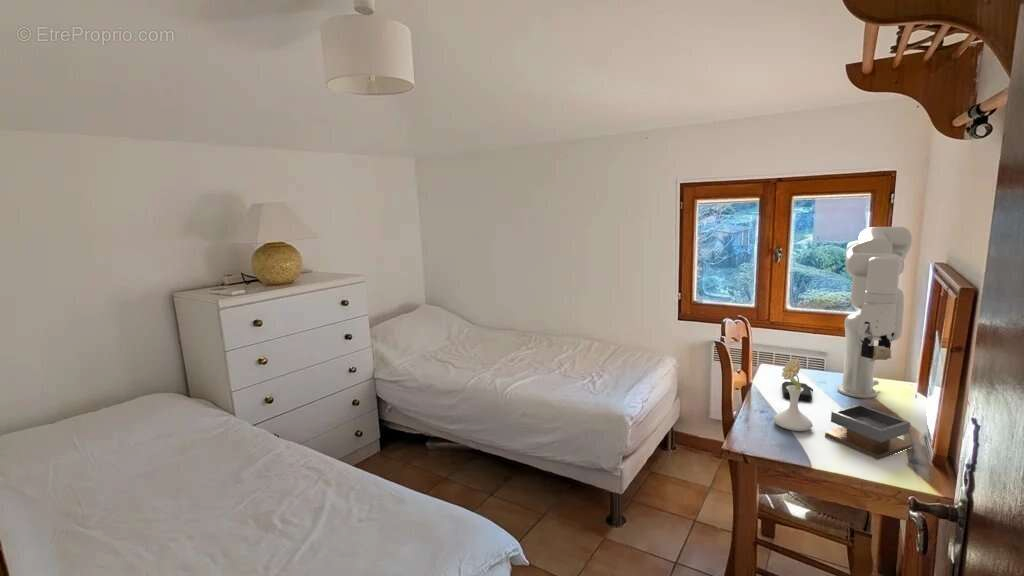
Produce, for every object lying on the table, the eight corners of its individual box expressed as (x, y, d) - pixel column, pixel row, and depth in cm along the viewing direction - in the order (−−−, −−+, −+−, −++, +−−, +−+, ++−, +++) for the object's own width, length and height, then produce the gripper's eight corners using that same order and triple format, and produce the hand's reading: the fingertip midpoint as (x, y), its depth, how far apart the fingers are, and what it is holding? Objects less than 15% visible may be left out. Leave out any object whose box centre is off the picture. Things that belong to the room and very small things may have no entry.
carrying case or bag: (815, 404, 179) (811, 390, 192) (816, 396, 178) (812, 382, 191) (783, 399, 184) (781, 386, 196) (783, 392, 183) (781, 379, 196)
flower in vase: (773, 417, 169) (777, 349, 165) (811, 422, 164) (815, 353, 159) (773, 432, 158) (777, 360, 153) (813, 439, 152) (819, 365, 148)
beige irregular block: (896, 361, 139) (876, 330, 141) (872, 369, 142) (853, 339, 144) (895, 354, 145) (876, 325, 147) (871, 362, 149) (853, 333, 151)
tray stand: (858, 426, 159) (860, 402, 158) (912, 448, 145) (915, 422, 143) (825, 436, 154) (826, 411, 152) (877, 459, 139) (880, 432, 138)
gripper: (885, 293, 148) (880, 348, 151) (847, 299, 142) (843, 356, 145) (913, 297, 141) (907, 354, 144) (874, 303, 135) (869, 363, 138)
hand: (875, 355), depth 144 cm, fingers closed on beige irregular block, 6 cm apart
